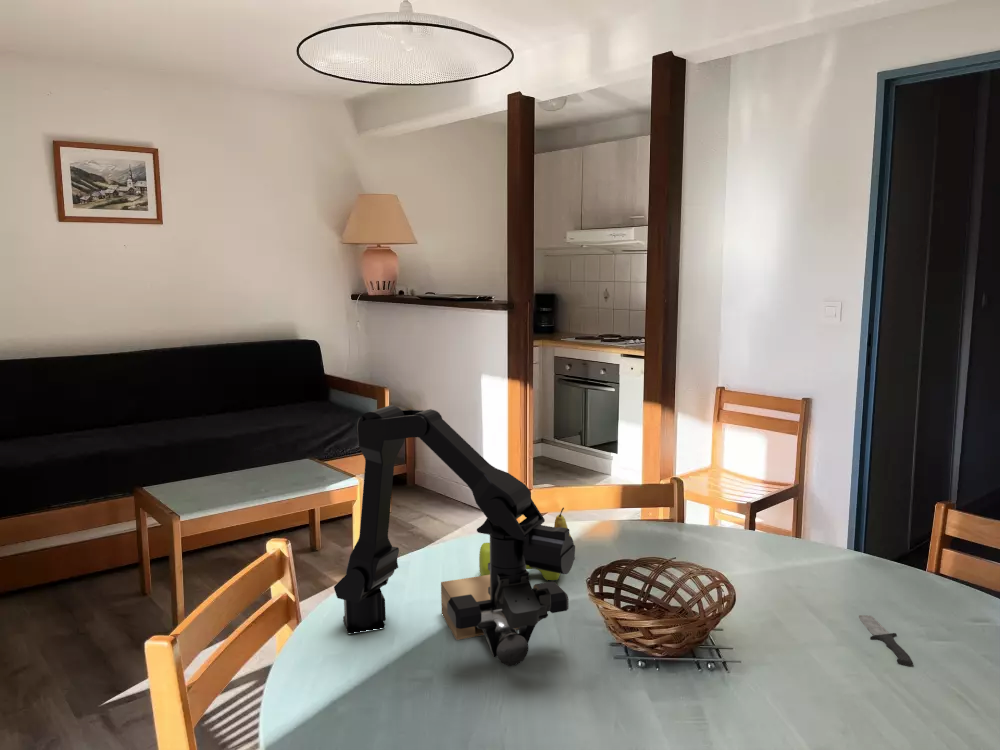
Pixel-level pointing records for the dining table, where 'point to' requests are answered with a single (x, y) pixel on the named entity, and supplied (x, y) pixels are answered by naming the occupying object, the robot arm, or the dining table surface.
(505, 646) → the dark grey metal cylinder
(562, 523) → the fruit
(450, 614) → the robot arm
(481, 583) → the housing
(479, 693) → the dining table surface
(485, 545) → the dumbbell
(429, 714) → the dining table surface
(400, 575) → the dining table surface
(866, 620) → the knife
